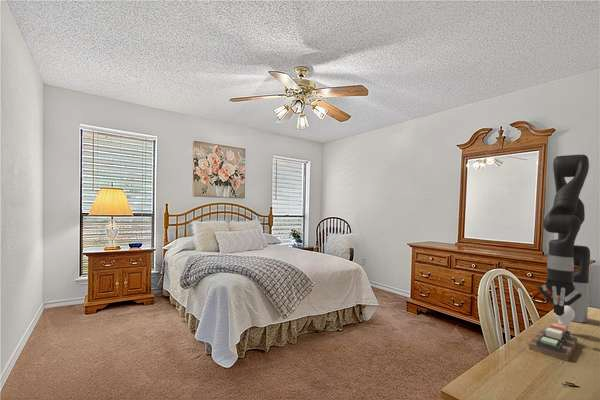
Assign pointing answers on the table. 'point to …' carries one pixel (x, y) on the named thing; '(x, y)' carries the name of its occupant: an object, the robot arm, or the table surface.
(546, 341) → the sage button
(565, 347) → the button board
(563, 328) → the terracotta button
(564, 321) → the lightbulb
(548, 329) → the offwhite button
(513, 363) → the table surface
